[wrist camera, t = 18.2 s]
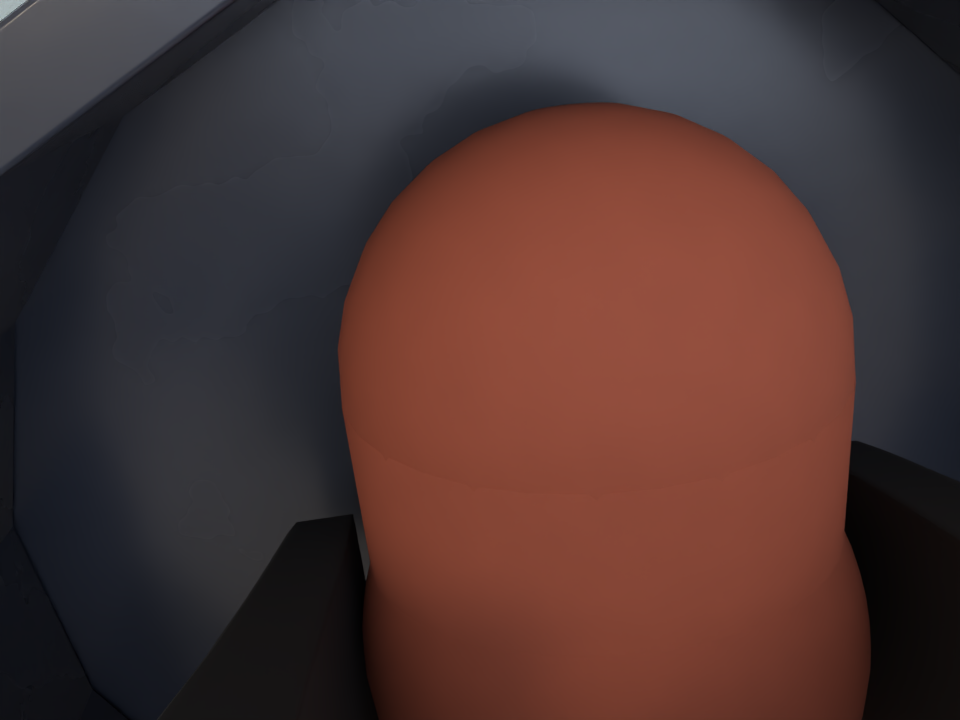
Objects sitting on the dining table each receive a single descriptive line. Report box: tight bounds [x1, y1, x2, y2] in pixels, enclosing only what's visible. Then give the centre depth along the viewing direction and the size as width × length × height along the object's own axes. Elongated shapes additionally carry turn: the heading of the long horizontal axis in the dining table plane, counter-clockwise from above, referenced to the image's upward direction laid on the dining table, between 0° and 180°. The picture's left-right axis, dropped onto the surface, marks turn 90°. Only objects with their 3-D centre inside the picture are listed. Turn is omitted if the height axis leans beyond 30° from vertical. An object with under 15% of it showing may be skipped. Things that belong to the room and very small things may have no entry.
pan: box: [0, 0, 960, 720], centre depth 10 cm, size 14×14×4 cm
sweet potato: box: [338, 102, 871, 720], centre depth 9 cm, size 10×5×5 cm, turn 6°
